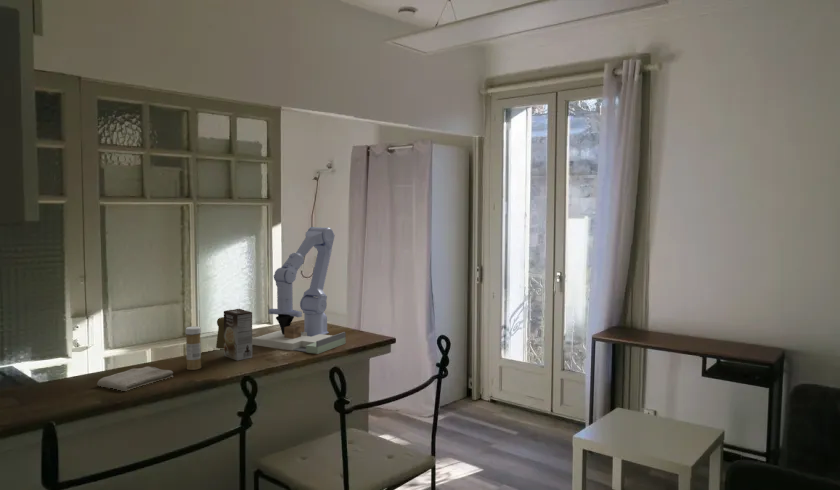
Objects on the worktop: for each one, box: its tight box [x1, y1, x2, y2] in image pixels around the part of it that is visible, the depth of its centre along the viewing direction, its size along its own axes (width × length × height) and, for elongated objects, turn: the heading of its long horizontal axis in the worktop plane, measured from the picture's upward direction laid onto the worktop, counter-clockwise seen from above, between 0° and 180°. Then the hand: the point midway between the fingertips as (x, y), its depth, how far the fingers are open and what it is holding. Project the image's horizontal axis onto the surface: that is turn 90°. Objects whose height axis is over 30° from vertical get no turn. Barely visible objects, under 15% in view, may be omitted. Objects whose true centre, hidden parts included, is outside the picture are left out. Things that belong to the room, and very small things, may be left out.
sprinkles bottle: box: [185, 325, 202, 371], centre depth 192 cm, size 5×5×13 cm
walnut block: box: [284, 324, 302, 339], centre depth 228 cm, size 4×4×4 cm
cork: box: [215, 316, 224, 350], centre depth 222 cm, size 6×6×11 cm
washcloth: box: [96, 366, 174, 392], centre depth 178 cm, size 12×18×3 cm, turn 155°
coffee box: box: [223, 308, 253, 361], centre depth 207 cm, size 9×6×16 cm
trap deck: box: [252, 329, 347, 355], centre depth 227 cm, size 18×30×4 cm, turn 64°
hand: (285, 334), depth 230 cm, fingers closed
